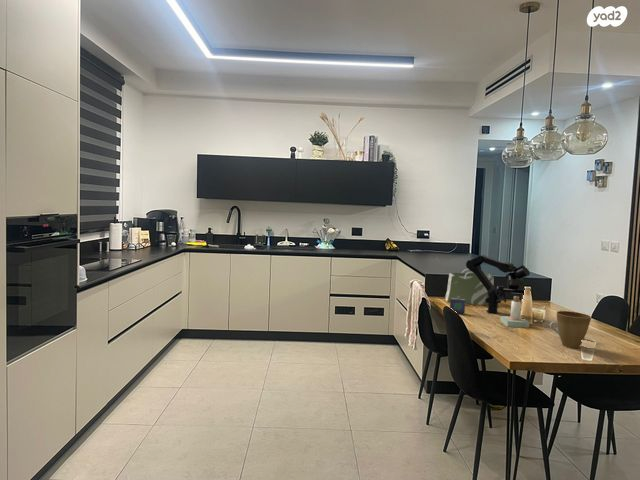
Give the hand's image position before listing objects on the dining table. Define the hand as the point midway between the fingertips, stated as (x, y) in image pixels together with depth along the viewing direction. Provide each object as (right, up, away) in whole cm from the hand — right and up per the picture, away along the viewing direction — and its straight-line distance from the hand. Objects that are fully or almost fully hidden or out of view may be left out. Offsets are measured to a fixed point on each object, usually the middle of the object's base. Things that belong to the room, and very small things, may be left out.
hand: (513, 303), depth 268 cm
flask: (-28, -9, +16) cm, 34 cm away
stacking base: (-2, -11, -4) cm, 12 cm away
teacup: (+15, -14, -26) cm, 33 cm away
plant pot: (+10, -15, -42) cm, 46 cm away
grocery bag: (-9, -7, +51) cm, 53 cm away
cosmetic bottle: (-1, -8, -5) cm, 9 cm away
